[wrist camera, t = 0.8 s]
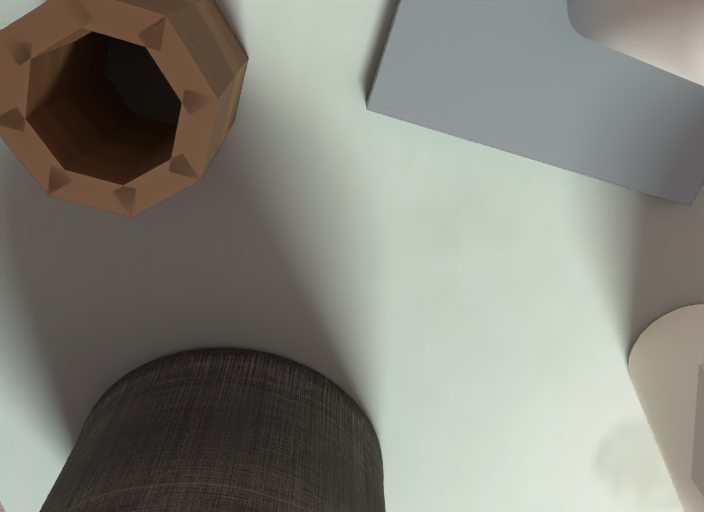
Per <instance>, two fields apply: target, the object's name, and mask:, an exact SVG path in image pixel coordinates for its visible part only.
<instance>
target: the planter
mask: <svg viewBox="0 0 704 512" xmlns="http://www.w3.org/2000/svg"><path fill="white" fill-rule="evenodd" d="M383 480H384V475H383V461H382V455H381V449H380V446H379V442H378V439H377V437H376V434H375V432H374V430H373V428H372V426H371V424H370V422H369V421H368V419H367V418H366V416H365V414H364V413H363V412H362V410H361V409H360V408H359V407H358V405H357V404H356V403H355V402H354V401H353V400H352V399H351V398H350V397H349V396H348V395H347V394H346V393H345V392H344V391H343V390H342V389H340V388H339V387H338V386H337V385H335V384H334V383H333V382H331V381H330V380H328V379H327V378H325V377H324V376H322V375H320V374H319V373H317V372H315V371H313V370H311V369H309V368H307V367H305V366H303V365H301V364H298V363H296V362H294V361H291V360H288V359H285V358H282V357H279V356H275V355H271V354H268V353H263V352H258V351H252V350H244V349H231V348H211V349H199V350H192V351H186V352H181V353H177V354H173V355H169V356H166V357H163V358H160V359H157V360H155V361H152V362H150V363H147V364H145V365H143V366H141V367H139V368H137V369H136V370H134V371H132V372H130V373H129V374H127V375H126V376H124V377H123V378H121V379H120V380H119V381H118V382H116V383H115V384H114V385H113V386H112V387H111V388H110V389H109V390H108V391H107V392H106V393H105V394H104V395H103V396H102V397H101V398H100V399H99V401H98V402H97V403H96V405H95V406H94V408H93V409H92V411H91V413H90V415H89V416H88V418H87V420H86V422H85V424H84V426H83V429H82V431H81V434H80V436H79V438H78V440H77V442H76V445H75V446H74V448H73V450H72V452H71V454H70V456H69V457H68V459H67V461H66V463H65V465H64V467H63V469H62V471H61V473H60V475H59V477H58V478H57V480H56V482H55V484H54V486H53V487H52V489H51V491H50V493H49V495H48V497H47V499H46V500H45V502H44V504H43V506H42V508H41V510H40V512H385V499H384V486H383Z"/></svg>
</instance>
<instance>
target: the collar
mask: <svg viewBox="0 0 704 512" xmlns="http://www.w3.org/2000/svg"><path fill="white" fill-rule="evenodd" d="M109 36H111V37H114V38H118V39H121V40H124V41H128V42H131V43H134V44H138V45H141V46H144V47H146V48H147V50H148V51H149V53H150V54H151V56H152V57H153V59H154V61H155V62H156V64H157V65H158V67H159V68H160V70H161V71H162V73H163V74H164V76H165V77H166V79H167V81H168V82H169V84H170V85H171V87H172V88H173V90H174V91H175V93H176V94H177V96H178V97H179V99H180V101H181V102H182V105H181V110H180V115H179V120H178V124H177V125H172V124H168V123H165V122H161V121H158V120H154V119H151V118H147V117H144V116H140V115H137V114H133V113H131V112H130V110H129V109H128V107H127V106H126V105H125V103H124V102H123V100H122V99H121V97H120V96H119V94H118V93H117V91H116V90H115V89H114V87H113V86H112V84H111V83H110V81H109V80H108V78H107V77H106V75H105V74H104V69H105V62H106V55H107V47H108V40H109ZM247 63H248V56H247V55H246V53H245V51H244V50H243V48H242V46H241V45H240V43H239V41H238V39H237V38H236V36H235V34H234V33H233V31H232V29H231V27H230V26H229V24H228V22H227V21H226V19H225V17H224V16H223V14H222V12H221V10H220V9H219V7H218V5H217V4H216V2H215V0H48V1H46V2H45V3H43V4H42V5H40V6H38V7H37V8H35V9H34V10H32V11H31V12H29V13H27V14H26V15H24V16H23V17H21V18H20V19H18V20H16V21H15V22H13V23H12V24H10V25H9V26H7V27H5V28H4V29H2V30H1V31H0V136H1V137H2V139H3V140H4V141H5V142H6V144H7V145H8V146H9V147H10V149H11V150H12V151H13V152H14V154H15V155H16V156H17V158H18V159H19V160H20V161H21V163H22V164H23V165H24V166H25V168H26V169H27V170H28V171H29V173H30V174H31V175H32V176H33V178H34V179H35V180H36V182H37V183H38V184H39V185H40V187H41V188H42V189H43V190H44V192H45V193H46V194H47V195H48V196H52V197H56V198H60V199H63V200H67V201H71V202H75V203H79V204H83V205H86V206H90V207H94V208H98V209H102V210H105V211H109V212H113V213H117V214H121V215H125V216H128V217H133V216H135V215H137V214H139V213H141V212H142V211H144V210H146V209H148V208H150V207H152V206H154V205H155V204H157V203H159V202H161V201H163V200H165V199H167V198H168V197H170V196H172V195H174V194H176V193H178V192H180V191H181V190H183V189H185V188H187V187H189V186H191V185H193V184H194V183H196V182H198V181H200V180H201V179H202V177H203V175H204V173H205V172H206V170H207V168H208V166H209V164H210V163H211V161H212V159H213V157H214V156H215V154H216V152H217V150H218V149H219V147H220V145H221V143H222V142H223V140H224V138H225V136H226V135H227V133H228V131H229V129H230V128H231V126H232V124H233V122H234V119H235V115H236V111H237V106H238V102H239V97H240V93H241V89H242V84H243V80H244V76H245V71H246V67H247Z"/></svg>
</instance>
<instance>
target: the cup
mask: <svg viewBox="0 0 704 512" xmlns="http://www.w3.org/2000/svg"><path fill="white" fill-rule="evenodd" d="M703 363H704V304H697V305H690V306H686V307H682V308H679V309H676V310H673V311H671V312H669V313H667V314H665V315H663V316H662V317H660V318H658V319H657V320H656V321H654V322H653V323H652V324H650V325H649V326H648V327H647V328H646V329H645V330H644V331H643V332H642V334H641V335H640V336H639V337H638V339H637V340H636V342H635V344H634V346H633V348H632V350H631V353H630V356H629V361H628V372H629V377H630V380H631V382H632V385H633V387H634V390H635V392H636V395H637V397H638V400H639V402H640V404H641V407H642V409H643V412H644V414H645V417H646V419H647V422H648V424H649V427H650V429H651V432H652V434H653V437H654V439H655V442H656V444H657V446H658V449H659V451H660V454H661V456H662V459H663V461H664V464H665V466H666V469H667V471H668V474H669V476H670V479H671V481H672V483H673V486H674V488H675V491H676V493H677V496H678V498H679V501H680V503H681V505H682V508H683V510H684V512H704V497H703V495H702V494H701V492H700V491H699V489H698V488H697V486H696V485H695V483H694V482H693V480H692V479H691V470H692V456H693V441H694V427H695V412H696V398H697V384H698V369H699V364H703Z"/></svg>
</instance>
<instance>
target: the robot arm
mask: <svg viewBox="0 0 704 512" xmlns="http://www.w3.org/2000/svg"><path fill="white" fill-rule="evenodd" d="M691 479H692V480H693V482H694V483H695V485H696V486H697V488H698V489H699V491H700V492H701V494H702V495H703V497H704V363H703V364H699V369H698V384H697V398H696V412H695V427H694V441H693V456H692V470H691ZM0 512H6V511H5V510H4V508H3V506H2V504H1V503H0Z"/></svg>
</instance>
